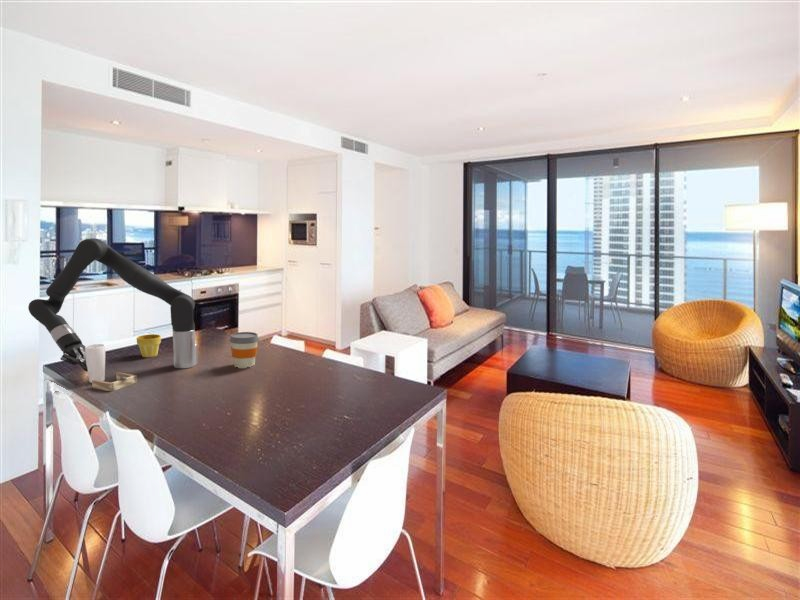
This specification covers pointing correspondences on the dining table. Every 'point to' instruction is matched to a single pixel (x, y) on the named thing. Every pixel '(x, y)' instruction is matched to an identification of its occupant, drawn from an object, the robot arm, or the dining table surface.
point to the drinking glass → (95, 361)
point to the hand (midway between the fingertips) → (89, 369)
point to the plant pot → (149, 344)
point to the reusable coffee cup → (244, 348)
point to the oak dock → (122, 382)
